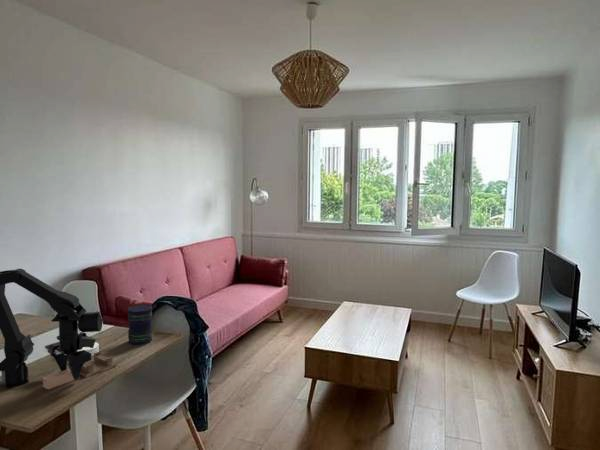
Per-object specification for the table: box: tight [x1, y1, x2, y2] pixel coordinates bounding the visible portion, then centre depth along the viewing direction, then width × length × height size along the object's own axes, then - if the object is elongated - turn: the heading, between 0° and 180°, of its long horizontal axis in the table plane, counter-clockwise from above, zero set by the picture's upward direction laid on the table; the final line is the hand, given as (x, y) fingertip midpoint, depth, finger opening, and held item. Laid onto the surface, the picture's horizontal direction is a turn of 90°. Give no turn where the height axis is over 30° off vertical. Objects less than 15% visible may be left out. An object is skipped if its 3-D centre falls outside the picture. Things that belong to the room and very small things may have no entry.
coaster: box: [77, 341, 100, 357], centre depth 163 cm, size 10×10×4 cm
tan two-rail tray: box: [80, 351, 117, 378], centre depth 150 cm, size 11×10×4 cm
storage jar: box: [127, 304, 153, 346], centre depth 177 cm, size 10×10×15 cm
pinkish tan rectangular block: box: [42, 368, 75, 390], centre depth 139 cm, size 10×3×4 cm, turn 144°
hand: (70, 376), depth 141 cm, fingers open, 8 cm apart
